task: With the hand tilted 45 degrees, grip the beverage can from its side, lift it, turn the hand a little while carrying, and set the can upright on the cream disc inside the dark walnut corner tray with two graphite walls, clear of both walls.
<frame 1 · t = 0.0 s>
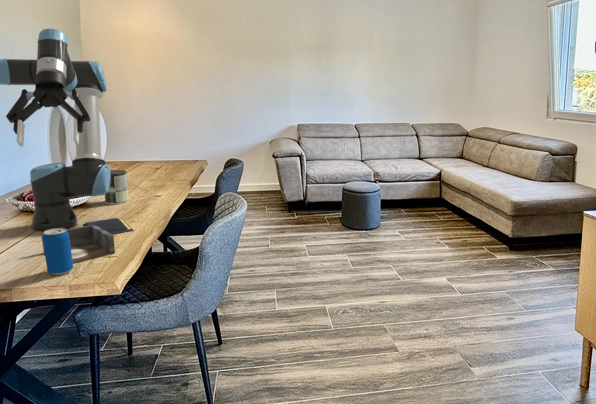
hand: (48, 143, 119), 36 cm above the table, tool tilted 35°, fingers open, 13 cm apart
dark grey flat rectangle: (107, 229, 167), on the table
beverage can: (61, 272, 126), on the table
coffee can: (117, 202, 205), on the table
corner tray: (79, 253, 140), on the table
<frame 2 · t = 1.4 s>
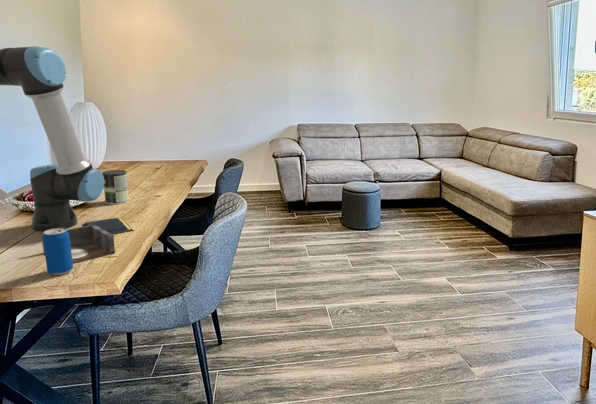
hand: (3, 202, 115), 21 cm above the table, tool tilted 45°, fingers open, 13 cm apart
nothing on the table moved.
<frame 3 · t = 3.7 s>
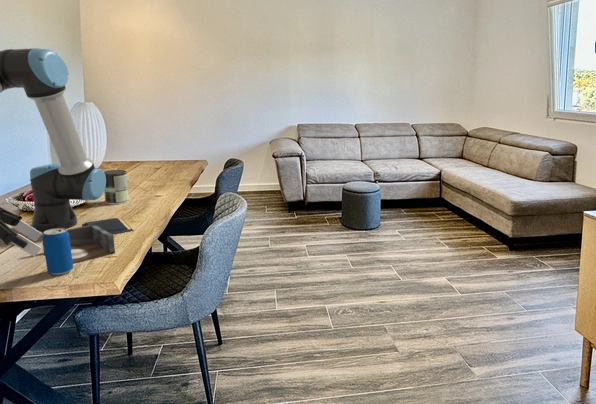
hand: (38, 244, 121), 9 cm above the table, tool tilted 45°, fingers open, 13 cm apart
nothing on the table moved.
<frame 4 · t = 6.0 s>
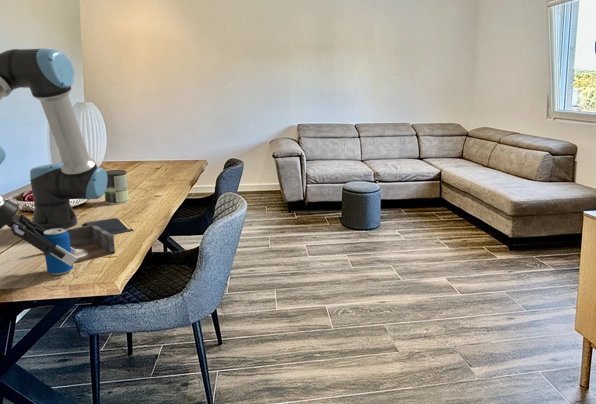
hand: (73, 257, 127), 3 cm above the table, tool tilted 45°, fingers closed on beverage can, 6 cm apart
beverage can: (60, 272, 126), on the table, touching gripper
everything else where it was.
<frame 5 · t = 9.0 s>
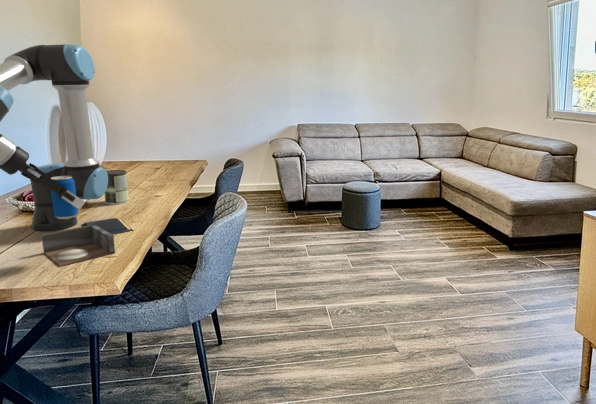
hand: (77, 203, 136), 16 cm above the table, tool tilted 45°, fingers closed on beverage can, 6 cm apart
beverage can: (66, 217, 134), point 13 cm above the table, touching gripper
everything else where it was.
when the fingers open (5 cm above the table, at t = 12.1 s): beverage can drops 1 cm, resting on corner tray.
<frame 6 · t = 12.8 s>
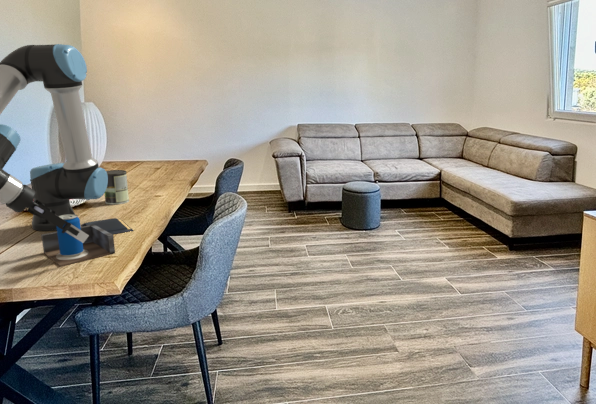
hand: (78, 234, 138), 7 cm above the table, tool tilted 45°, fingers open, 13 cm apart
beverage can: (72, 254, 137), point 1 cm above the table, touching corner tray
everything else where it was.
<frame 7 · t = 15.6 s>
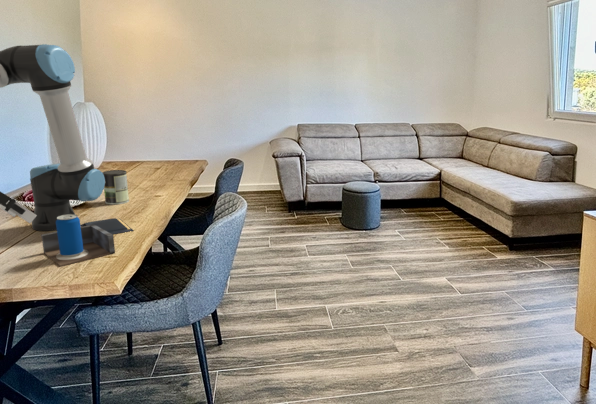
hand: (25, 216, 127), 15 cm above the table, tool tilted 45°, fingers open, 13 cm apart
nothing on the table moved.
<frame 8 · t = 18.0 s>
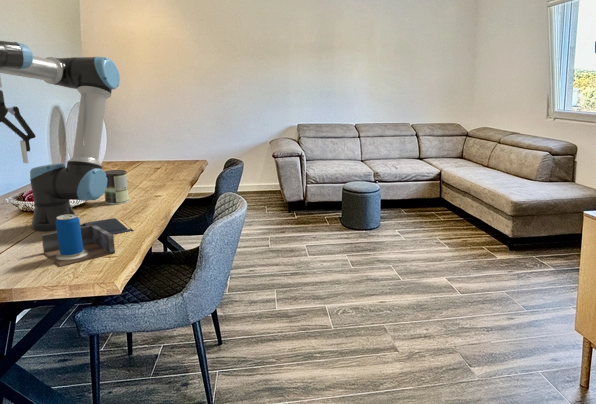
nothing on the table moved.
at the end: beverage can 0.1 cm from the target spot on the corner tray, point 0.5 cm above the corner tray's base; beverage can tilted 0°; the gripper is holding nothing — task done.
